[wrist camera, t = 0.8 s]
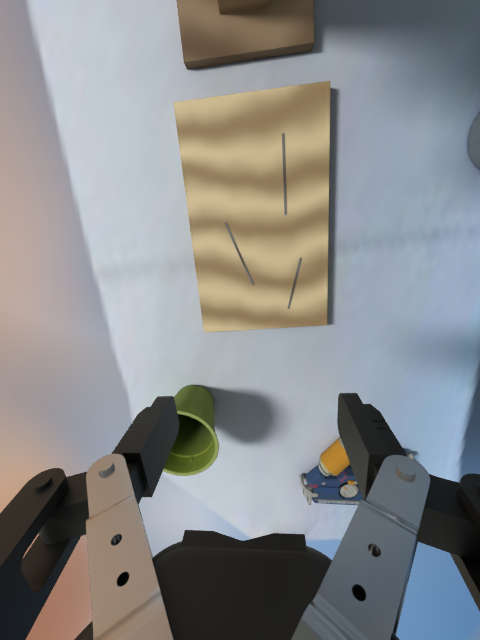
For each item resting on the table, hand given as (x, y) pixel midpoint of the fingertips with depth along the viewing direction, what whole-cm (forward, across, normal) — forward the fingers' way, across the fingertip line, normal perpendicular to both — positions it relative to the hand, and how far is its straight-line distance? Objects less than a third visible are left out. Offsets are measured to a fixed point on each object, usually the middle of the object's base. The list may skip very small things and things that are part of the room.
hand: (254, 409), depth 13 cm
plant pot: (+31, +14, +22) cm, 40 cm away
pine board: (+32, 0, -8) cm, 33 cm away
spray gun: (+31, -16, +38) cm, 52 cm away
